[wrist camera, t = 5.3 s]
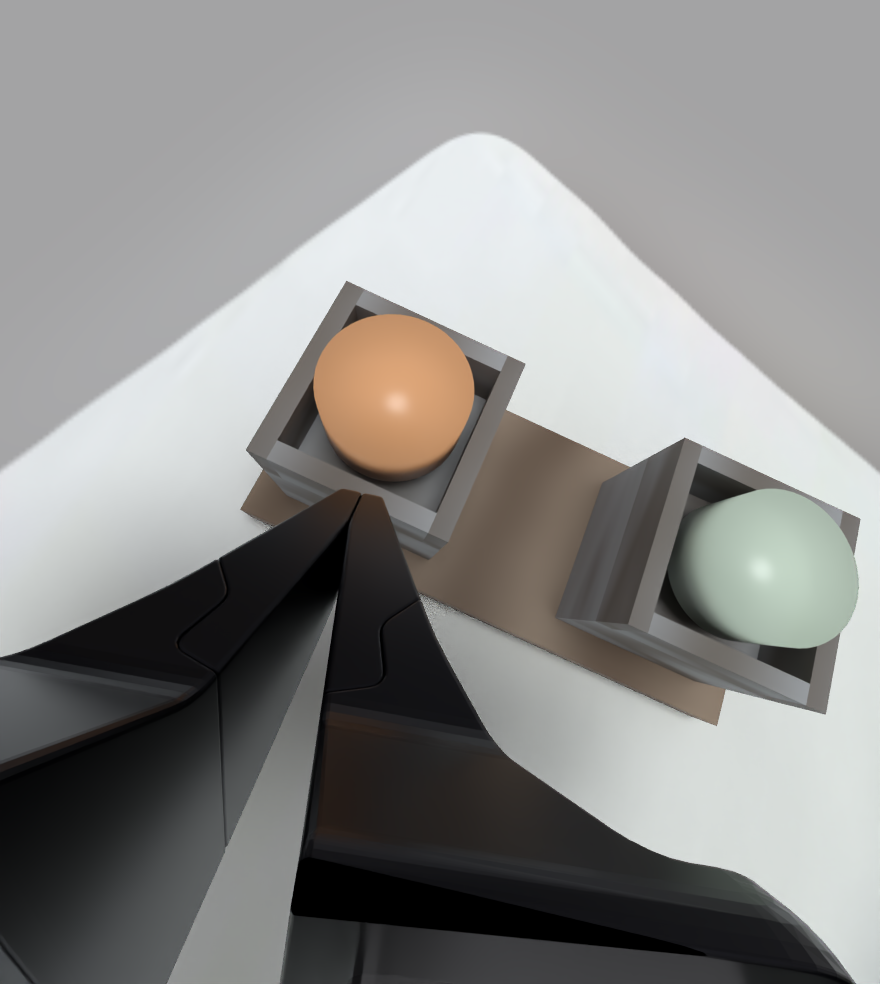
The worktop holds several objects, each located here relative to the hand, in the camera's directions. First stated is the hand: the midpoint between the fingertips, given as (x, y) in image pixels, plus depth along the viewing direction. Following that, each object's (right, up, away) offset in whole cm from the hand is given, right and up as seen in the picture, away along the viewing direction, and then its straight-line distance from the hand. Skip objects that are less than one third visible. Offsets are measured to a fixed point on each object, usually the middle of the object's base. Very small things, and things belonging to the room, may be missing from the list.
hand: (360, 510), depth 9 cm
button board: (+5, -1, +11) cm, 12 cm away
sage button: (+11, -2, +5) cm, 12 cm away
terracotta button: (0, +3, +5) cm, 5 cm away
